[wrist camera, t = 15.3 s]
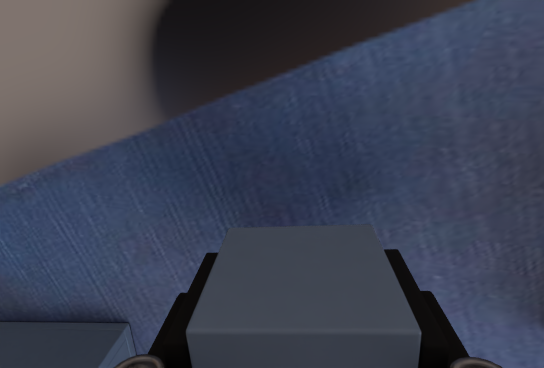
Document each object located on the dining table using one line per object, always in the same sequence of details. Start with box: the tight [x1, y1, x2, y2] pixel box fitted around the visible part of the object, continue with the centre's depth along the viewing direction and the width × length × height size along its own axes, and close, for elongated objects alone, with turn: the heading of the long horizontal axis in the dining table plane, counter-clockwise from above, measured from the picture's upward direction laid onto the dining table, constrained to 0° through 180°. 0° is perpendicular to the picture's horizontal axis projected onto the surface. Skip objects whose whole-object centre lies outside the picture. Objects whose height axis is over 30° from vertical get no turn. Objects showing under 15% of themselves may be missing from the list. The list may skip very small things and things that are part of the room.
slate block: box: [186, 224, 421, 368], centre depth 9 cm, size 4×4×4 cm
